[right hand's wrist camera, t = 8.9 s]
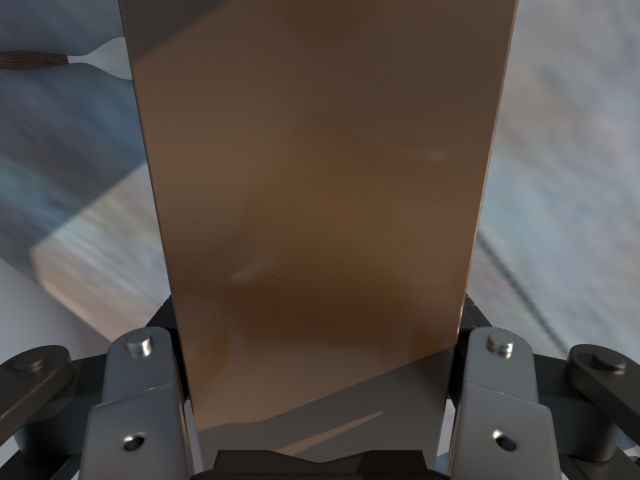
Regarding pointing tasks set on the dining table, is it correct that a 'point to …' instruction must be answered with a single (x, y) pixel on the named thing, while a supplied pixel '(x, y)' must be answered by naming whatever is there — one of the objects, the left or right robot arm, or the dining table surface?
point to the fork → (74, 59)
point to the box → (318, 208)
